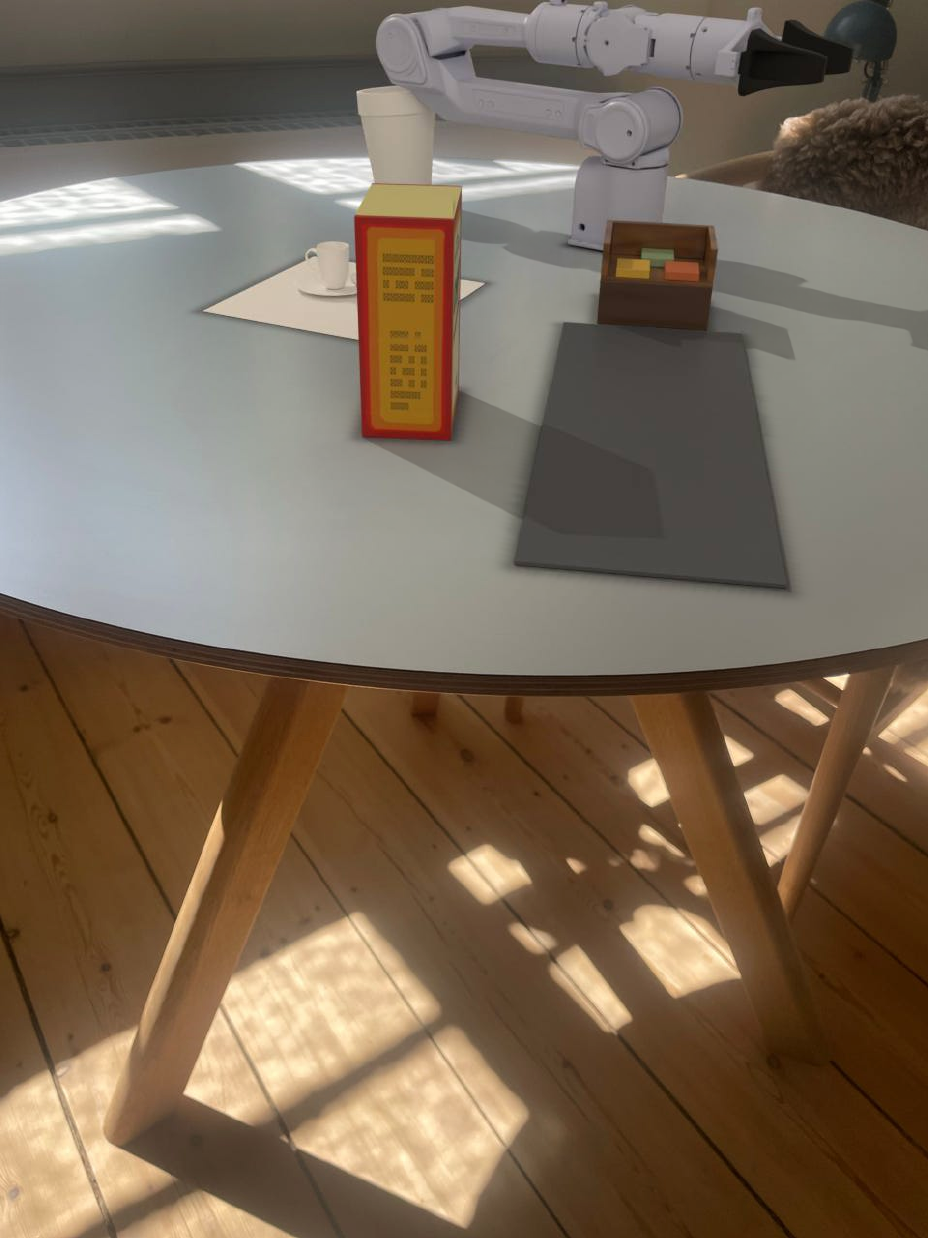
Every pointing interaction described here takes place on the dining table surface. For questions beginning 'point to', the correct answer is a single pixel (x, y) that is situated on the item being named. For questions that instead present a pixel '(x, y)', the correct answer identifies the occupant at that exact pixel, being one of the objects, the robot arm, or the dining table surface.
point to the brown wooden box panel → (654, 304)
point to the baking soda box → (409, 309)
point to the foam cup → (397, 135)
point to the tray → (681, 238)
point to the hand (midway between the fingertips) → (838, 64)
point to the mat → (651, 461)
